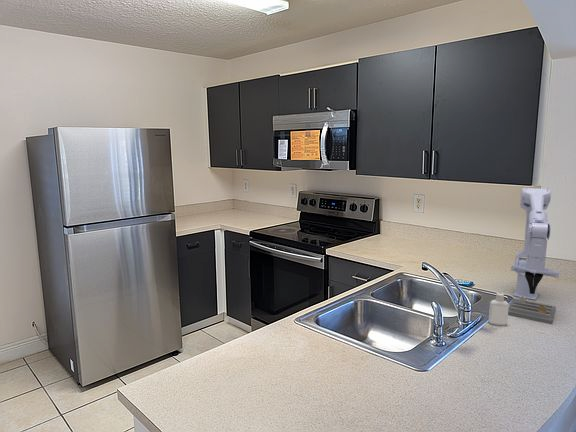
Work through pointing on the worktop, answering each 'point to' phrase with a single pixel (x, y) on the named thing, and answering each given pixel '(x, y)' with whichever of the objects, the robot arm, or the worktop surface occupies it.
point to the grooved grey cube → (522, 299)
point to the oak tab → (542, 309)
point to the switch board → (531, 311)
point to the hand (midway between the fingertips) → (532, 293)
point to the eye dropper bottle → (498, 310)
